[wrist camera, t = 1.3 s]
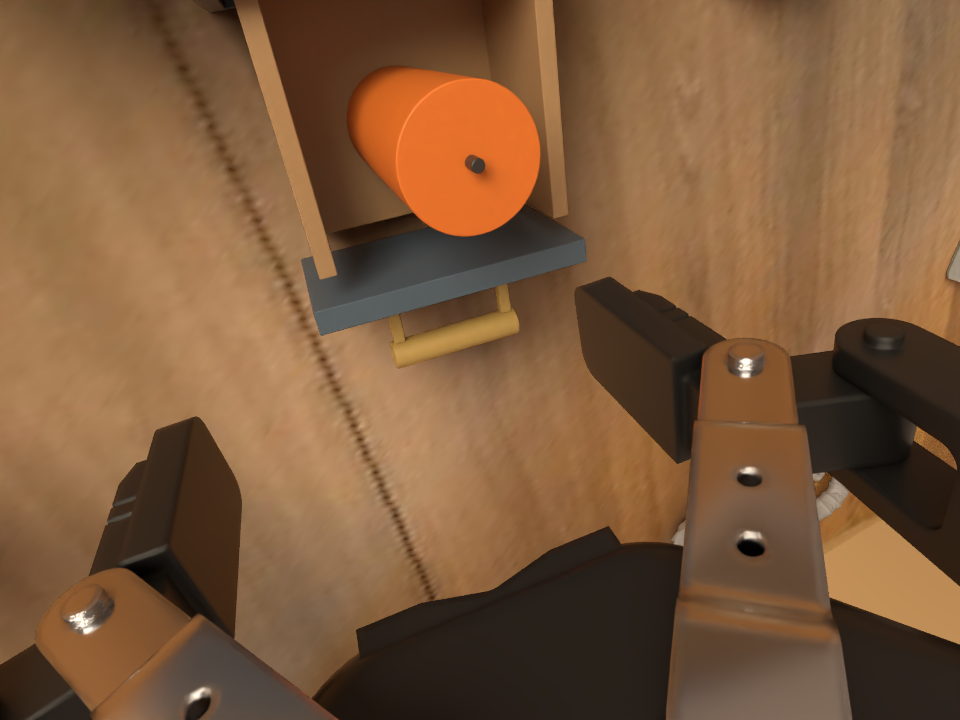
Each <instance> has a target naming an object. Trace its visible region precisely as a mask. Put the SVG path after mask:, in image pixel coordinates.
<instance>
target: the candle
mask: <svg viewBox="0 0 960 720" xmlns="http://www.w3.org/2000/svg"><path fill="white" fill-rule="evenodd" d="M347 127H348V133H349V136H350V139H351V142H352V144H353V146H354V148H355V149H356V151H357V153H358V154H359V155H360V156H361V158H362V159H363V160H364V161H365V162H366V163H367V164H368V165H369V166H370V167H371V168H372V169H373V170H374V171H375V173H376V174H377V175H378V176H379V177H380V178H381V179H382V180H383V181H384V182H385V183H386V184H387V185H388V186H389V187H390V188H391V189H392V190H393V192H394V193H395V194H396V195H397V196H398V197H399V198H400V199H401V200H402V201H403V202H404V203H405V204H406V205H407V206H408V207H409V208H410V209H411V211H412V212H413V213H414V214H415V215H416V216H417V217H418V218H419V219H420V220H422V221H423V222H424V223H425V224H427V225H428V226H430V227H431V228H433V229H435V230H437V231H440V232H442V233H445V234H449V235H453V236H462V237H466V236H476V235H481V234H484V233H487V232H490V231H493V230H495V229H497V228H499V227H500V226H502V225H503V224H505V223H507V222H508V221H509V220H510V219H511V218H513V217H514V216H515V215H516V214H517V213H518V212H519V211H520V209H521V208H522V207H523V205H524V204H525V203H526V201H527V200H528V198H529V196H530V195H531V193H532V190H533V188H534V186H535V183H536V180H537V177H538V172H539V167H540V157H541V154H540V141H539V135H538V132H537V128H536V125H535V123H534V120H533V118H532V116H531V114H530V112H529V111H528V109H527V107H526V106H525V105H524V104H523V102H522V101H521V100H520V99H519V98H518V97H517V96H516V95H515V94H514V93H513V92H511V91H510V90H509V89H507V88H506V87H504V86H502V85H500V84H498V83H496V82H493V81H490V80H486V79H481V78H475V77H469V76H463V75H456V74H450V73H444V72H438V71H432V70H425V69H419V68H413V67H407V66H400V65H393V66H386V67H382V68H379V69H377V70H375V71H373V72H371V73H370V74H368V75H367V76H366V77H365V78H363V79H362V81H361V82H360V83H359V84H358V85H357V87H356V88H355V90H354V92H353V94H352V96H351V98H350V101H349V105H348V110H347Z"/></svg>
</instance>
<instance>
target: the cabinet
mask: <svg viewBox="0 0 960 720" xmlns="http://www.w3.org/2000/svg"><path fill="white" fill-rule="evenodd" d="M193 1H194V2H195V3H197V4H198V5H200V6H201V7H202V8H204V9H205V10H207V11H208V12H215V11H221V10H228V9H234V8H236V6H235V3H234V0H193Z"/></svg>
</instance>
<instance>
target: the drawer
mask: <svg viewBox="0 0 960 720" xmlns="http://www.w3.org/2000/svg"><path fill="white" fill-rule="evenodd" d="M234 3H235V6H236V9H237V13H238V16H239V19H240V22H241V26H242V29H243V32H244V35H245V39H246V42H247V45H248V48H249V52H250V55H251V58H252V61H253V65H254V68H255V71H256V74H257V78H258V81H259V84H260V87H261V90H262V94H263V97H264V100H265V103H266V107H267V110H268V113H269V116H270V120H271V123H272V126H273V129H274V133H275V136H276V139H277V142H278V146H279V149H280V152H281V155H282V158H283V162H284V165H285V168H286V171H287V175H288V178H289V181H290V184H291V188H292V191H293V194H294V197H295V201H296V204H297V207H298V210H299V214H300V217H301V220H302V223H303V227H304V230H305V233H306V236H307V239H308V243H309V246H310V249H311V252H312V257H308V258H304V259H301V262H302V266H303V270H304V275H305V279H306V283H307V288H308V292H309V296H310V301H311V305H312V310H313V314H314V317H315V320H316V323H317V326H318V329H319V332H320V335H321V336H322V335H325V334H329V333H333V332H336V331H340V330H343V329H347V328H350V327H354V326H358V325H361V324H365V323H368V322H372V321H376V320H379V319H383V318H386V317H387V318H388V322H389V326H390V329H391V333H392V337H393V340H394V341H392V342H390V347H391V351H392V355H393V358H394V361H395V364H396V366H397V368H398V369H399V368H402V367H406V366H409V365H413V364H416V363H419V362H423V361H426V360H429V359H433V358H436V357H439V356H443V355H446V354H449V353H453V352H456V351H459V350H463V349H466V348H469V347H473V346H476V345H479V344H483V343H486V342H489V341H493V340H496V339H499V338H503V337H506V336H509V335H513V334H516V333H518V332H519V321H518V318H517V315H516V313H515V311H514V309H513V308H512V307H511V306H510V299H509V292H508V283H511V282H515V281H518V280H522V279H526V278H529V277H533V276H536V275H540V274H543V273H547V272H551V271H554V270H558V269H561V268H565V267H568V266H572V265H576V264H579V263H583V262H586V261H587V260H586V243H585V239H584V238H582V237H581V236H579V235H577V234H576V233H574V232H572V231H571V230H569V229H567V228H566V227H564V226H562V225H561V224H559V223H557V222H555V221H554V220H552V219H550V218H549V217H547V216H545V215H544V214H542V213H540V212H539V211H537V210H535V209H534V208H532V207H530V206H528V205H527V204H524V205H523V207H522V208H521V209H520V211H519V212H518V213H517V214H516V215H515V216H514V217H513V218H511V219H510V220H509V221H508V222H507V223H505V224H503V225H502V226H500V227H499V228H497V229H495V230H493V231H490V232H487V233H484V234H481V235H476V236H466V237H462V236H453V235H449V234H445V233H442V232H440V231H437V230H435V229H433V228H431V227H428V228H424V229H420V230H416V231H412V232H408V233H404V234H400V235H396V236H392V237H388V238H384V239H380V240H376V241H372V242H368V243H364V244H360V245H356V246H352V247H348V248H344V249H340V250H336V251H332V252H331V249H330V246H329V243H328V239H327V236H326V234H329V233H333V232H337V231H341V230H346V229H350V228H354V227H358V226H362V225H366V224H370V223H374V222H378V221H382V220H386V219H390V218H395V217H399V216H403V215H407V214H411V213H413V212H412V211H411V209H410V208H409V207H408V206H407V205H406V204H405V203H404V202H403V201H402V200H401V199H400V198H399V197H398V196H397V195H396V194H395V193H394V192H393V190H392V189H391V188H390V187H389V186H388V185H387V184H386V183H385V182H384V181H383V180H382V179H381V178H380V177H379V176H378V175H377V174H376V173H375V171H374V170H373V169H372V168H371V167H370V166H369V165H368V164H367V163H366V162H365V161H364V160H363V159H362V158H361V156H360V155H359V154H358V153H357V151H356V149H355V148H354V146H353V144H352V142H351V139H350V136H349V133H348V127H347V110H348V105H349V101H350V98H351V96H352V94H353V92H354V90H355V88H356V87H357V85H358V84H359V83H360V82H361V81H362V79H363V78H365V77H366V76H367V75H368V74H370V73H371V72H373V71H375V70H377V69H379V68H382V67H386V66H393V65H400V66H407V67H413V68H419V69H425V70H432V71H438V72H444V73H450V74H456V75H463V76H469V77H475V78H481V79H486V80H490V81H493V82H496V83H498V84H500V85H502V86H504V87H506V88H507V89H509V90H510V91H511V92H513V93H514V94H515V95H516V96H517V97H518V98H519V99H520V100H521V101H522V102H523V104H524V105H525V106H526V107H527V109H528V111H529V112H530V114H531V116H532V118H533V120H534V123H535V125H536V128H537V132H538V135H539V141H540V154H541V157H540V167H539V172H538V177H537V180H536V183H535V186H534V188H533V190H532V193H531V195H530V196H529V198H528V200H527V201H526V203H528V204H529V205H531V206H533V207H535V208H536V209H538V210H540V211H541V212H543V213H545V214H546V215H548V216H550V217H552V218H553V219H555V218H559V217H563V216H567V215H568V202H567V189H566V175H565V162H564V148H563V135H562V121H561V108H560V94H559V81H558V67H557V54H556V40H555V27H554V13H553V0H234ZM493 287H495V293H496V300H497V306H498V310H499V311H495V312H492V313H489V314H485V315H482V316H478V317H475V318H471V319H468V320H464V321H461V322H457V323H454V324H450V325H447V326H444V327H440V328H437V329H433V330H430V331H426V332H423V333H419V334H416V335H412V336H409V337H405V335H404V331H403V327H402V322H401V318H400V314H401V313H404V312H408V311H411V310H415V309H418V308H422V307H426V306H429V305H433V304H436V303H440V302H443V301H447V300H451V299H454V298H458V297H461V296H465V295H468V294H472V293H476V292H479V291H483V290H486V289H490V288H493Z"/></svg>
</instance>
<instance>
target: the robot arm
mask: <svg viewBox="0 0 960 720" xmlns="http://www.w3.org/2000/svg"><path fill="white" fill-rule="evenodd" d="M575 304H576V312H577V319H578V326H579V333H580V340H581V347H582V353H583V357H584V360H585V362H586V365H587V367H588V369H589V371H590V372H591V374H592V375H593V376H594V378H595V379H596V380H597V381H598V382H599V383H600V384H601V385H602V386H603V387H604V388H605V389H606V390H607V391H608V392H609V393H610V394H611V395H612V396H613V397H614V398H615V399H616V401H617V402H618V403H619V404H620V405H621V406H622V407H623V408H624V409H625V410H626V411H627V412H628V413H629V414H630V415H631V416H632V417H633V418H634V419H635V420H636V421H637V422H638V424H639V425H640V426H641V427H642V428H643V429H644V430H645V431H646V432H647V433H648V434H649V435H650V436H651V437H652V438H653V439H654V440H655V441H656V442H657V443H658V444H659V445H660V447H661V448H662V449H663V450H664V451H665V452H666V453H667V454H668V455H669V456H670V457H671V458H672V459H673V460H674V461H675V462H676V463H677V464H679V463H681V462H684V461H686V460H689V459H691V463H690V474H689V486H688V497H687V509H686V521H685V532H684V544H683V546H681V545H676V544H669V543H662V542H633V543H624V544H621V543H620V542H619V540H618V539H617V537H616V536H615V535H614V533H613V532H612V530H611V529H610V527H609V526H607V527H605V528H603V529H600V530H598V531H595V532H593V533H590V534H588V535H586V536H583V537H581V538H578V539H576V540H573V541H571V542H569V543H566V544H564V545H561V546H559V547H556V548H554V549H552V550H549V551H548V552H547V553H545V554H544V555H542V556H541V557H539V558H538V559H537V560H535V561H534V562H532V563H531V564H529V565H528V566H527V567H525V568H524V569H522V570H521V571H520V572H518V573H517V574H515V575H514V576H512V577H511V578H510V579H508V580H507V581H505V582H504V583H502V584H501V585H500V586H498V587H496V588H495V589H493V590H490V591H486V592H481V593H476V594H470V595H464V596H459V597H453V598H447V599H441V600H436V601H430V602H424V603H420V604H418V605H415V606H413V607H410V608H408V609H406V610H403V611H401V612H398V613H396V614H393V615H391V616H389V617H386V618H384V619H381V620H379V621H376V622H374V623H372V624H369V625H367V626H364V627H362V628H359V629H357V630H356V633H357V640H358V647H359V653H358V654H357V655H356V656H354V657H353V658H351V659H350V660H349V661H348V662H347V663H345V664H344V665H343V666H342V667H341V668H339V669H338V670H337V671H336V672H335V673H334V674H333V675H332V676H331V677H330V678H329V679H328V680H327V681H326V682H325V683H324V684H323V685H322V687H321V688H320V689H319V690H318V691H317V693H316V694H315V695H314V696H313V698H312V699H311V698H310V697H309V696H307V695H306V694H305V693H303V692H302V691H301V690H299V689H298V688H297V687H295V686H294V685H293V684H292V683H290V682H289V681H288V680H286V679H285V678H284V677H282V676H281V675H280V674H279V673H277V672H276V671H275V670H273V669H272V668H271V667H269V666H268V665H267V664H265V663H264V662H263V661H262V660H260V659H259V658H258V657H256V656H255V655H254V654H252V653H251V652H250V651H248V650H247V649H246V648H245V647H243V646H242V645H241V644H239V643H238V642H237V641H235V640H234V636H235V618H236V601H237V583H238V565H239V547H240V529H241V511H242V499H241V493H240V489H239V486H238V483H237V480H236V478H235V476H234V474H233V472H232V470H231V469H230V467H229V465H228V463H227V462H226V460H225V458H224V456H223V455H222V453H221V451H220V450H219V448H218V446H217V444H216V443H215V441H214V439H213V437H212V436H211V434H210V432H209V430H208V429H207V427H206V425H205V424H204V422H203V421H202V420H201V419H200V418H199V417H192V418H189V419H186V420H183V421H181V422H178V423H175V424H172V425H169V426H166V427H163V428H160V429H157V430H156V431H155V433H154V436H153V440H152V443H151V447H150V450H149V454H148V457H147V460H144V461H141V462H139V463H136V464H135V465H134V467H133V468H132V469H131V470H130V472H129V473H128V474H127V475H126V477H125V478H124V479H123V480H122V482H121V483H120V484H119V486H118V489H117V492H116V495H115V498H114V501H113V504H112V505H113V508H112V509H111V510H110V513H109V516H108V519H107V522H108V525H106V526H105V529H104V532H103V535H102V538H101V541H100V544H99V547H98V550H97V553H96V556H95V559H94V562H93V565H92V568H91V571H90V574H89V577H87V578H85V579H84V580H82V581H80V582H79V583H77V584H76V585H74V586H73V587H71V588H70V589H69V590H67V591H66V592H65V593H64V594H63V595H61V596H60V597H59V598H58V599H57V600H56V601H55V602H54V603H53V604H52V605H51V607H50V608H49V609H48V610H47V611H46V613H45V614H44V616H43V617H42V619H41V621H40V623H39V625H38V627H37V630H36V633H35V644H34V645H32V646H31V647H29V648H27V649H26V650H24V651H23V652H21V653H19V654H18V655H16V656H14V657H13V658H11V659H9V660H8V661H6V662H4V663H3V664H1V665H0V720H960V645H959V644H957V643H954V642H951V641H948V640H946V639H943V638H940V637H937V636H935V635H932V634H929V633H926V632H924V631H921V630H918V629H915V628H912V627H910V626H907V625H904V624H901V623H899V622H896V621H893V620H890V619H888V618H885V617H882V616H879V615H877V614H874V613H871V612H868V611H866V610H863V609H860V608H857V607H854V606H852V605H849V604H846V603H843V602H840V601H838V600H835V599H832V598H830V597H829V592H828V585H827V577H826V570H825V562H824V555H823V548H822V540H821V533H820V525H819V518H818V511H817V503H816V496H815V488H814V481H813V474H816V473H824V472H828V473H829V474H830V475H831V476H833V477H834V478H835V479H836V480H837V481H838V482H839V483H841V484H842V485H843V486H844V487H845V488H846V489H848V490H849V491H850V492H851V493H852V494H853V495H855V496H856V497H857V498H858V499H859V500H860V501H862V502H863V503H864V504H865V505H866V506H867V507H868V508H870V509H871V510H872V511H873V512H874V513H875V514H877V515H878V516H879V517H880V518H881V519H882V520H884V521H885V522H886V523H887V524H888V525H889V526H890V527H892V528H893V529H894V530H895V531H897V533H899V534H900V535H901V536H902V537H903V538H904V539H906V540H907V541H908V542H909V543H910V544H912V546H914V547H915V548H916V549H917V550H918V551H919V552H921V553H922V554H923V555H924V556H925V557H926V558H928V559H929V560H930V561H931V562H932V563H933V564H934V565H936V566H937V567H938V568H939V569H940V570H942V571H943V572H944V573H945V574H946V575H947V576H948V577H950V578H951V579H952V580H953V581H954V582H955V583H957V584H958V585H959V586H960V347H959V346H957V345H955V344H953V343H951V342H949V341H947V340H945V339H943V338H941V337H939V336H937V335H935V334H933V333H931V332H929V331H927V330H925V329H923V328H921V327H919V326H916V325H914V324H911V323H908V322H905V321H900V320H895V319H886V318H869V319H861V320H856V321H852V322H849V323H847V324H845V325H843V326H842V327H840V328H839V329H838V330H837V332H836V335H835V341H834V350H833V351H826V352H819V353H812V354H805V355H798V356H789V354H788V353H787V352H786V351H785V350H784V349H783V348H782V347H780V346H779V345H777V344H774V343H772V342H769V341H766V340H761V339H755V338H736V339H729V340H727V339H725V338H724V337H722V336H721V335H719V334H718V333H716V332H715V331H713V330H712V329H710V328H709V327H707V326H706V325H704V324H703V323H701V322H699V321H698V320H696V319H695V318H693V317H692V316H690V317H689V316H688V314H687V313H686V312H684V311H683V310H681V309H680V308H676V306H675V305H674V304H672V303H671V302H669V301H668V300H666V299H665V298H663V297H662V296H660V295H656V294H652V293H648V292H644V291H641V290H637V291H634V292H632V291H630V290H629V289H627V288H626V287H624V286H623V285H622V284H620V283H619V282H617V281H616V280H615V279H613V278H611V277H607V278H604V279H601V280H598V281H595V282H592V283H589V284H586V285H583V286H580V287H577V288H576V290H575ZM917 426H918V427H919V428H921V429H922V430H924V431H925V432H927V433H928V434H930V435H931V436H933V437H934V438H936V439H937V440H939V441H940V442H941V443H943V444H944V445H945V446H946V447H947V448H948V449H949V451H950V452H951V453H952V455H953V457H954V459H955V461H956V464H957V470H956V469H954V468H953V467H951V466H950V465H948V464H947V463H945V462H944V461H942V460H941V459H940V458H938V457H937V456H935V455H934V454H932V453H931V452H929V451H928V450H926V449H925V448H924V447H922V446H921V445H919V444H918V443H916V442H915V441H913V440H914V436H915V431H916V427H917Z"/></svg>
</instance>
